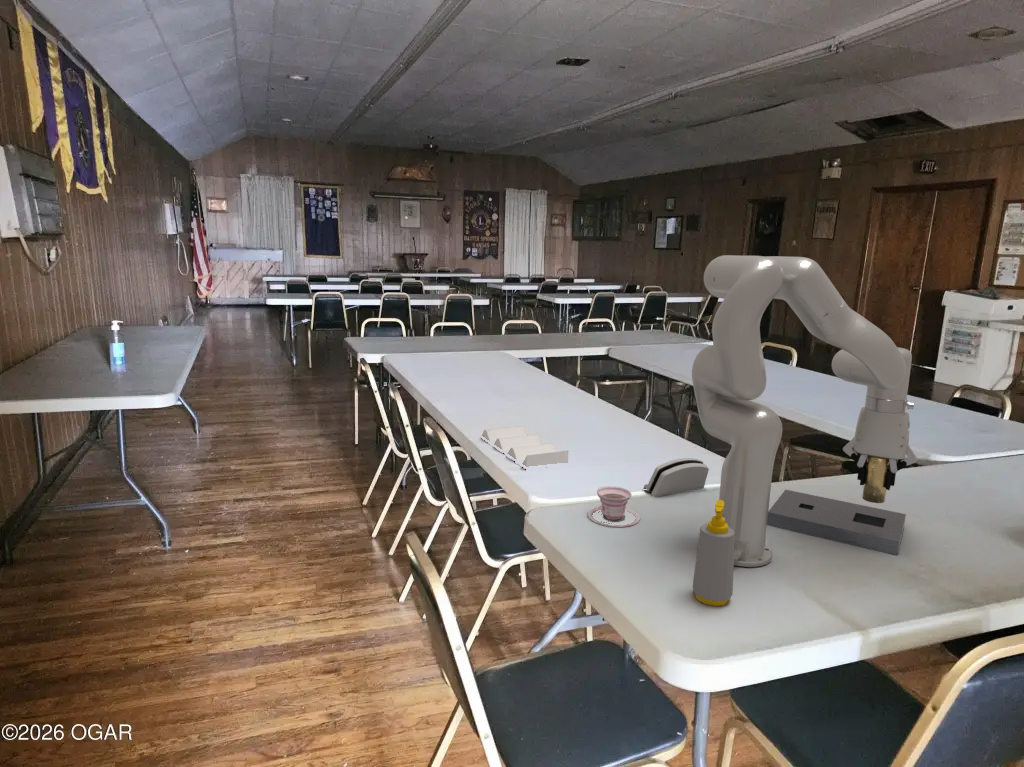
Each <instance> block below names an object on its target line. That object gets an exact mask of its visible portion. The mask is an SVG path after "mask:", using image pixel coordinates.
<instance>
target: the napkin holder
mask: <svg viewBox="0 0 1024 767" xmlns="http://www.w3.org/2000/svg"><path fill="white" fill-rule="evenodd" d="M709 471H710V469H709V467H708V465H707V464H704V461H702V460H701V459H698V458H693V457H682V458H677V459H673V460H669V461H666V462H664V463H661V464H660V465H657V466H656V467H655V468H654V470H653V473H652V475H651V476H650V479H649V481H648V483H647V484H644V485H643V488H642V490H643V489H647V492H651V494H650V495H651V496H652V497H653V496H654V497H653V498H657V497H661V496H662V497H663V496H666V495H672V494H673V495H674V494H678V493H682V492H689V491H695V490H699V489H704V488H705V484H706V481H707V477H708V473H709Z"/></svg>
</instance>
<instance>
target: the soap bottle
mask: <svg viewBox="0 0 1024 767" xmlns="http://www.w3.org/2000/svg"><path fill="white" fill-rule="evenodd" d="M723 511H724V501H723V500H719V499H717V500H715V506H714V512H715V515H714V516H712V517H711V519H710V521H708V522H707V523H706V524H703V525H701V527H700V529H699V537H698V544H697V552H696V557H695V558H696V559H695V566H694V573H693V580H692V586H691V587H692V591H693V592H694V593H695V594H694V595H695V598H696V599H697V600H698V601H700V602H701V603H703V604H705V605H708V606H713V607H714V606H715V607H718V606H720V607H721V606H724V605H726V604H727V603H728V602H729V599H731V598H732V597H733V595H734V594H733V590H734V587H733V585H734V566H735V565H734V541H735V532H734V530H733V529H731V528H730V527H728V524H727V523H725V518H724V517H722V514H723Z"/></svg>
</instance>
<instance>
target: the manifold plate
mask: <svg viewBox="0 0 1024 767" xmlns="http://www.w3.org/2000/svg"><path fill="white" fill-rule="evenodd" d="M906 516H907V514H906V513H902V512H897V511H892V510H889V509H888V510H887V509H883V508H878V507H874V506H873V507H872V506H867V505H863V504H858V503H853V502H849V501H842V500H838V499H834V498H828V497H824V496H819V495H814V494H810V493H809V494H808V493H804V492H800V491H799V492H798V491H794V490H790V489H784V491H783V492H782V493H781V495H779V497H778V498H777V500H776V501H775V502H774V504H773V505H772V506H771V508H770V509H769V510H768V519H767V526H771V527H775V528H779V529H780V528H781V529H784V530H789V531H793V532H797V533H801V534H806V535H810V536H814V537H818V538H822V539H825V540H832V541H835V542H838V543H843V544H848V545H852V546H856V547H860V548H865V549H869V550H873V551H878V552H882V553H885V554H886V553H887V554H891V555H895V556H899V555H898V554H899V550H900V546H901V541H902V537H903V532H904V529H905V523H906V519H907V518H906Z"/></svg>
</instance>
